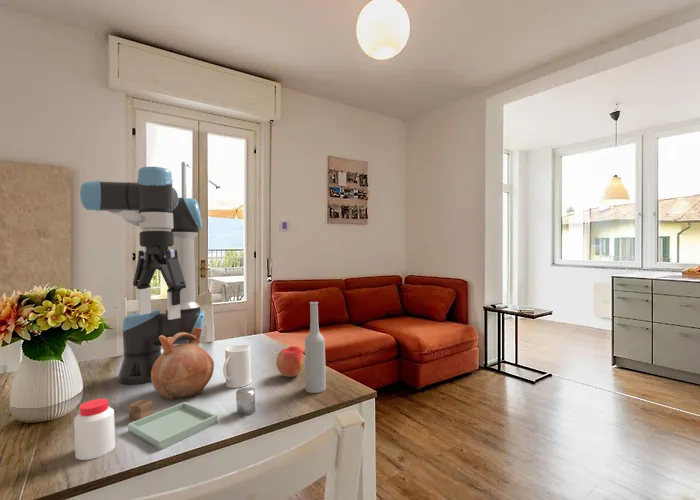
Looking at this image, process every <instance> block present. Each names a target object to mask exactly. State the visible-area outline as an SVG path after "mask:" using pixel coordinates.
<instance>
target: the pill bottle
mask: <svg viewBox="0 0 700 500" xmlns="http://www.w3.org/2000/svg"><path fill="white" fill-rule="evenodd" d="M115 419H116V417H115V409H114V408H113V407H111V406H110V405H109V400H108V399H106V398H97V399H91V400H89V401H86V402H84V403H82V404H80V406H79V413H78V414H77V415H76V416H75V417H74V418H73V432H74V433H73V435H74V437H73V438H74V457H75V459H76V460H78V461H90V460H94V458H95V459H97V458H100V457H103V456H105V455H108V454H109V453H111V451H113V450H114V449H115V448H116V424H115V421H116V420H115Z"/></svg>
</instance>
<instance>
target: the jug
mask: <svg viewBox="0 0 700 500" xmlns="http://www.w3.org/2000/svg"><path fill="white" fill-rule="evenodd" d="M201 332H202V333H203V331H202V329H201V328H195V327H194V329H193V332H192V335H191V334H189V333H185V332H182V333H177V334H175V335H174V336H173V337H168V338H166V337H165V336H163V335H161V336H159V340H160V342H161V344H162V346H161V347H162V349H163V352H161V355H160V356H159V357H158V359H157V360H156V361H155V363H154V365H153V367H152V370H151V380H152V381H151V383H152V386H153V388H154V389H155V391H156V392H157V393H158V394H159V395H160V396H162V397H163V398H164V399H166V400H171V401H172V400H173V401H174V400H175V401H176V400H186V399H189V398H191V397H195V396H197V395H199V394H200V393H202V392H203V390H204V389H205V388H206V387H207V385H208V383H209V382H210V380H211V379H212V377H213V373H214V368H215V362H214V359H213V357H212V356H211V355H210V354H209V352H208V351H206V349H204V348H203V347H201V346H200V345H199V342H200V341H199V339H200V335H201ZM181 337H187V338H188V339H189V342H188V343H184V344H175V345H173V344H174V343H175V341H176V340H178V339H179V338H181ZM200 340H201V339H200Z"/></svg>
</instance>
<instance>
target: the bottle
mask: <svg viewBox="0 0 700 500" xmlns="http://www.w3.org/2000/svg"><path fill="white" fill-rule="evenodd" d="M318 304H319V302H318V301H310V302H309V305H310V306H309V307H310V308H309V309H310V310H309V311H310V313H309V314H310V320H309V321H310V323H309V327H310V328H309V333H308V335H307V336H306V337H305V339H304V372H305V374H304V375H305V376H304V384H305V387H304V388H305V391H306V392H307V393H310V394H311V393H312V394H318V393H323V392H324V391H326V390H327V384H326V383H327V382H326V381H327V376H326V375H327V373H326V372H327V371H326V370H327V369H326V342H325V341H326V340H325V338H324V336H323V335H322V334H321V332H320V328H319V305H318Z"/></svg>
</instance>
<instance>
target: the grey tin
mask: <svg viewBox="0 0 700 500" xmlns="http://www.w3.org/2000/svg"><path fill="white" fill-rule="evenodd" d="M235 395H236V397H235V398H236V415H237V416H239V417H249V416H251V415H253V414H255V413H256V390H255V388H253V387H250V386H249V387H248V386H246V387H240V389H239V388H238V389H237V390H236V394H235Z"/></svg>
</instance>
